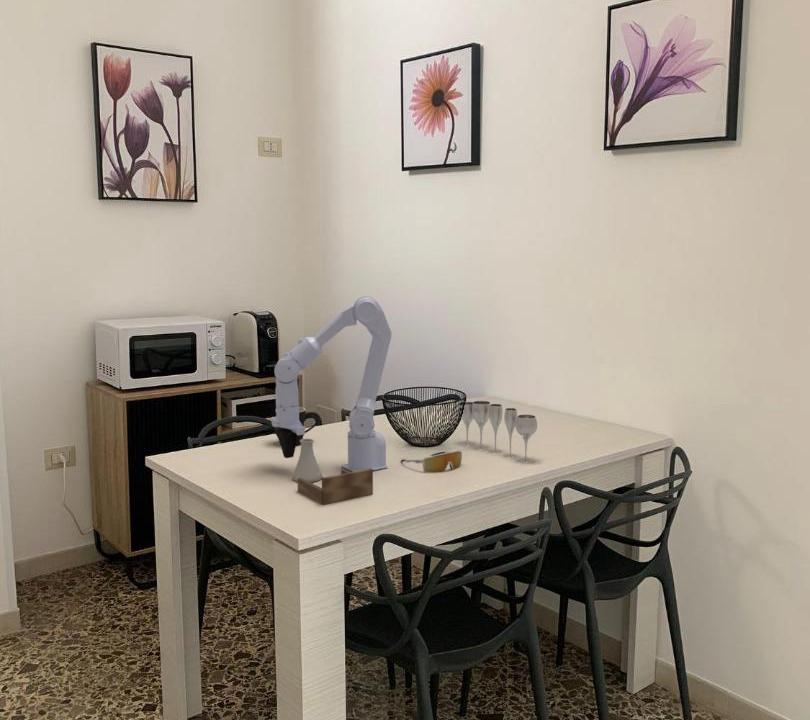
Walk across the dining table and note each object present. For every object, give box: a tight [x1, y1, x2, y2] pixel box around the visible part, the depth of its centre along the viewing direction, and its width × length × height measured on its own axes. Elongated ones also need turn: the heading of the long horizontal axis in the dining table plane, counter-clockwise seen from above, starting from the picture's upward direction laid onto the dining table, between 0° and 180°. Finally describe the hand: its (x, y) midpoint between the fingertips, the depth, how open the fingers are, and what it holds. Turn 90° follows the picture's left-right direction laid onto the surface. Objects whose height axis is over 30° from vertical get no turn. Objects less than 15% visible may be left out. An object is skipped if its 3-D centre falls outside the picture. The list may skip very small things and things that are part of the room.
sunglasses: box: [400, 450, 463, 473], centre depth 217 cm, size 14×15×5 cm
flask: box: [291, 438, 324, 483], centre depth 204 cm, size 7×7×10 cm
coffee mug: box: [275, 406, 320, 447], centre depth 238 cm, size 12×9×10 cm
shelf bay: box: [296, 468, 374, 506], centre depth 194 cm, size 13×12×6 cm
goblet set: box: [459, 400, 538, 464], centre depth 229 cm, size 28×6×13 cm, turn 39°
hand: (288, 457), depth 212 cm, fingers closed
